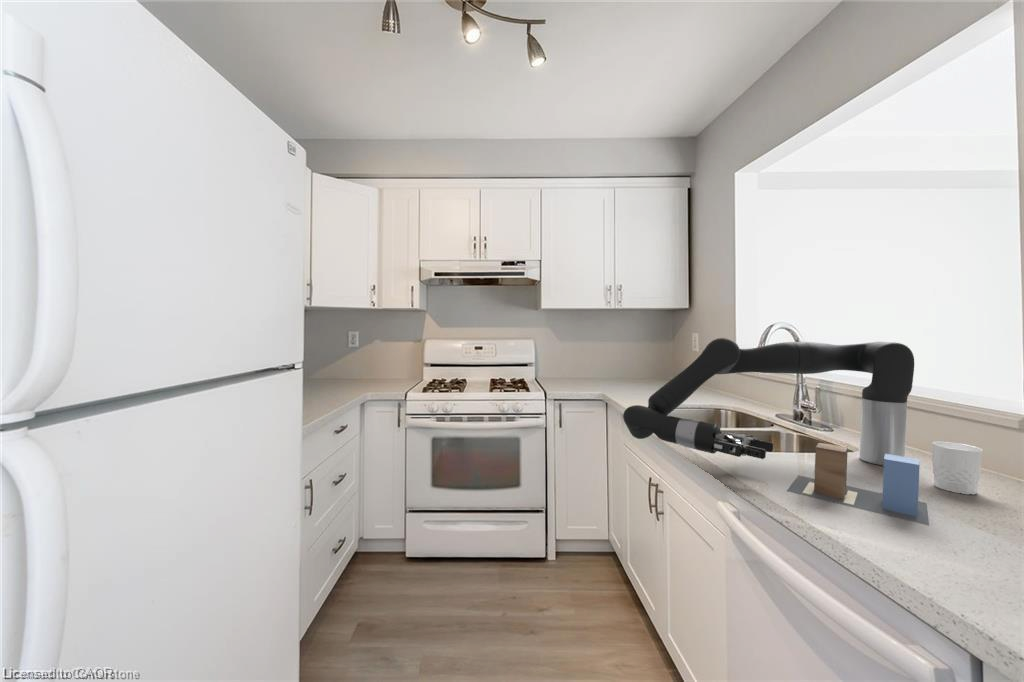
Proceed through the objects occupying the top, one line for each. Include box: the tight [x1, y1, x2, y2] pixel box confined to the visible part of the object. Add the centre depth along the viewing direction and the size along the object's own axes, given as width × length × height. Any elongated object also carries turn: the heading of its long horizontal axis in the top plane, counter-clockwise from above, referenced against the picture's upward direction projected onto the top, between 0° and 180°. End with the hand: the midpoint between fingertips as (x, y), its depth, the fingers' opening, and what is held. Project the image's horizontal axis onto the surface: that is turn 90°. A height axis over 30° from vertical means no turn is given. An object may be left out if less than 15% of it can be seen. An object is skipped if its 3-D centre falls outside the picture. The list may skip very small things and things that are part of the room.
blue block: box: [882, 454, 921, 517], centre depth 81 cm, size 5×5×10 cm
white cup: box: [931, 440, 984, 496], centre depth 94 cm, size 8×8×10 cm
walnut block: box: [814, 442, 849, 499], centre depth 89 cm, size 5×5×10 cm
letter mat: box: [786, 475, 930, 526], centre depth 87 cm, size 14×22×1 cm, turn 46°
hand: (769, 450), depth 96 cm, fingers open, 8 cm apart
